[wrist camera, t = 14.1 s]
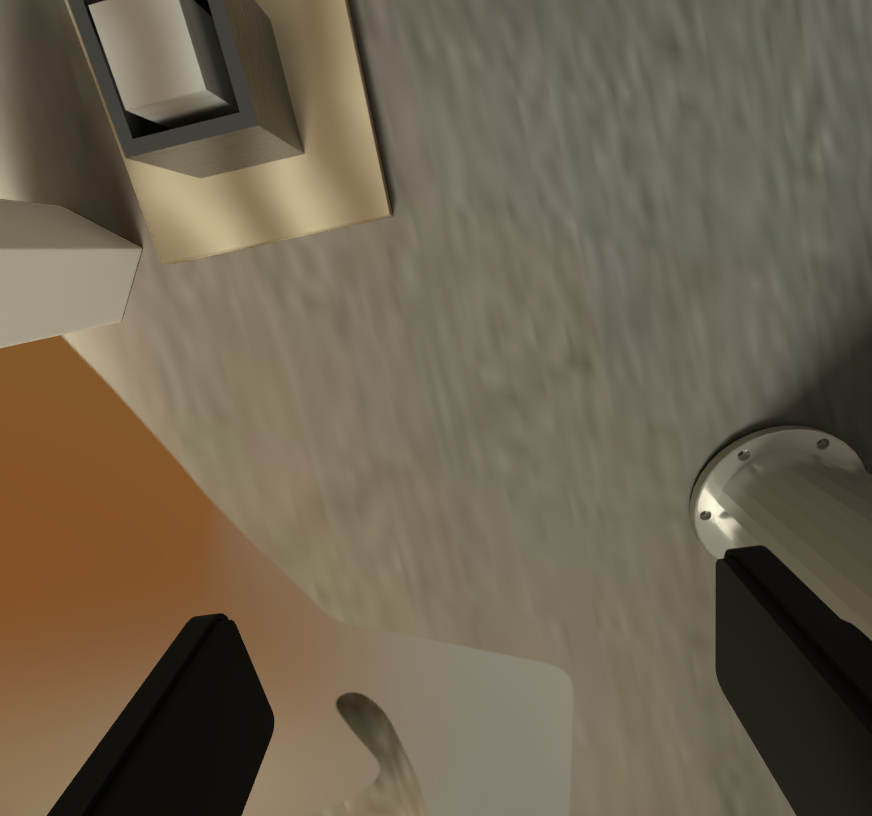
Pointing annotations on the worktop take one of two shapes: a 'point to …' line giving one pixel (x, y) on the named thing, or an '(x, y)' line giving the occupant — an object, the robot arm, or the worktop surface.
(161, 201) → the post board
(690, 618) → the worktop surface
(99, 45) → the square metal tube
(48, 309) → the milk
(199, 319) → the worktop surface
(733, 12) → the worktop surface
